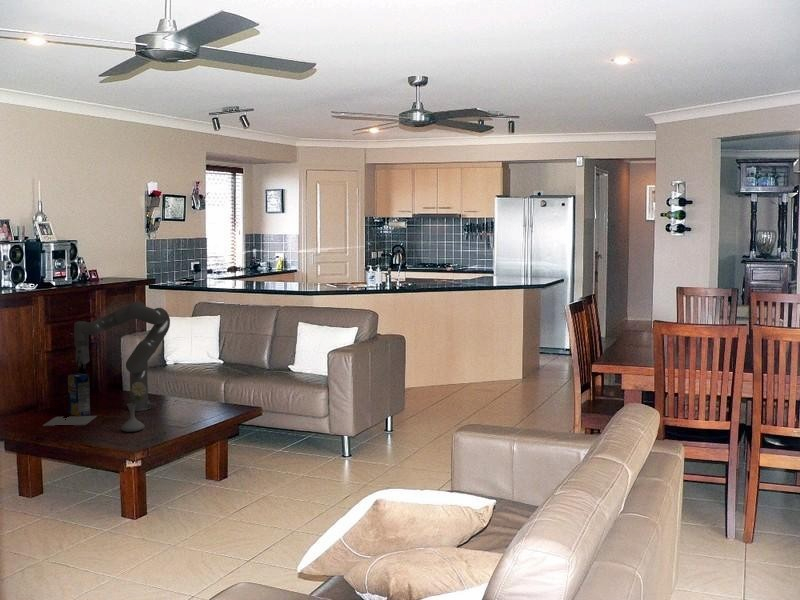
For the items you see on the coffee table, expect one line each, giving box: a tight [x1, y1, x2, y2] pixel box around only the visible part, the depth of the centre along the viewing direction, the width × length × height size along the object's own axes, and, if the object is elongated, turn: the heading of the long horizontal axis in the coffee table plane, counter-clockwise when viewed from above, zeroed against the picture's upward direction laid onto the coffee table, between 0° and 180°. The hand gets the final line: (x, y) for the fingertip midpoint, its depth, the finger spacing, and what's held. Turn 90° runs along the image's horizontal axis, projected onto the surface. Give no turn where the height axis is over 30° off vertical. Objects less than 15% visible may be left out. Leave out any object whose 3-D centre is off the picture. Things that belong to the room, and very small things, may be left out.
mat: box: [42, 415, 98, 427], centre depth 449 cm, size 22×20×1 cm
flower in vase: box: [120, 382, 146, 433], centre depth 426 cm, size 13×11×25 cm
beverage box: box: [67, 372, 91, 417], centre depth 463 cm, size 7×11×22 cm, turn 48°
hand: (82, 375), depth 471 cm, fingers closed
